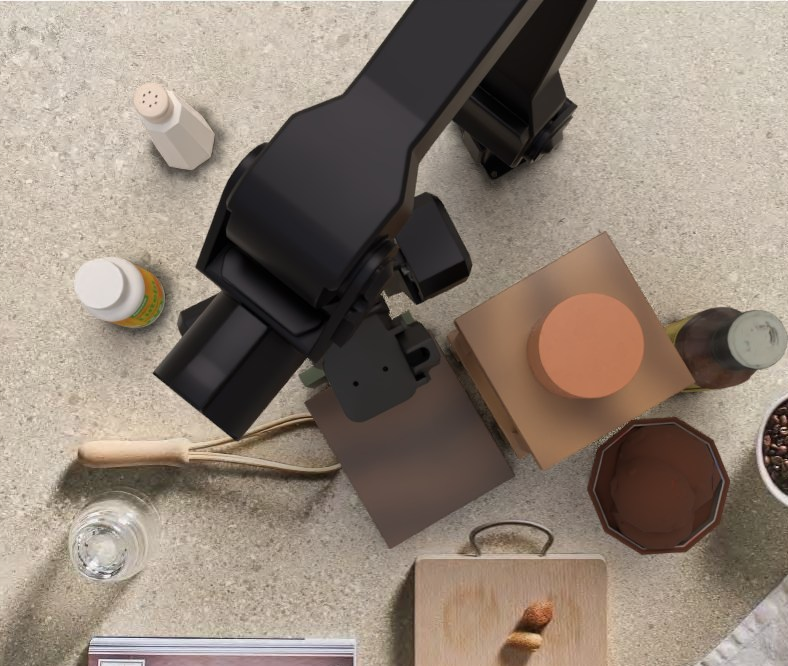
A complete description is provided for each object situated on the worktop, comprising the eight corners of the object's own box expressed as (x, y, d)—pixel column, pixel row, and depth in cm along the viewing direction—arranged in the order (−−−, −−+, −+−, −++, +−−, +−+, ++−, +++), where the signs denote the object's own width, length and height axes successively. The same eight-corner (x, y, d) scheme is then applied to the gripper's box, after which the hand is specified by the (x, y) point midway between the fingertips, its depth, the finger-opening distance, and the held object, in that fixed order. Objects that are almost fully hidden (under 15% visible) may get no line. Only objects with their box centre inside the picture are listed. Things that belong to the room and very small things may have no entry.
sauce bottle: (722, 336, 78) (828, 312, 58) (700, 402, 78) (798, 401, 58) (652, 311, 78) (734, 280, 58) (629, 378, 78) (704, 369, 58)
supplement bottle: (159, 334, 79) (124, 324, 69) (101, 322, 79) (58, 310, 69) (171, 275, 79) (138, 257, 69) (113, 263, 79) (72, 243, 69)
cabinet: (315, 402, 79) (303, 402, 70) (426, 336, 79) (429, 328, 70) (391, 533, 78) (389, 549, 70) (504, 468, 78) (515, 476, 70)
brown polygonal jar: (651, 560, 78) (707, 597, 63) (543, 493, 78) (575, 514, 63) (714, 459, 78) (786, 471, 63) (607, 392, 78) (653, 389, 63)
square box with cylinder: (547, 283, 78) (606, 230, 55) (610, 389, 78) (696, 382, 55) (441, 345, 79) (454, 319, 55) (503, 451, 78) (543, 471, 55)
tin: (592, 285, 55) (610, 273, 50) (641, 368, 55) (664, 364, 50) (508, 333, 55) (518, 326, 50) (557, 416, 55) (572, 417, 50)
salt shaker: (227, 132, 79) (198, 88, 68) (195, 182, 79) (160, 147, 68) (176, 100, 79) (139, 51, 68) (144, 151, 79) (101, 110, 68)
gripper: (235, 474, 49) (266, 471, 64) (532, 324, 50) (491, 357, 65) (147, 296, 49) (199, 336, 65) (442, 152, 50) (423, 225, 66)
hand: (331, 317), depth 65 cm, fingers open, 9 cm apart
